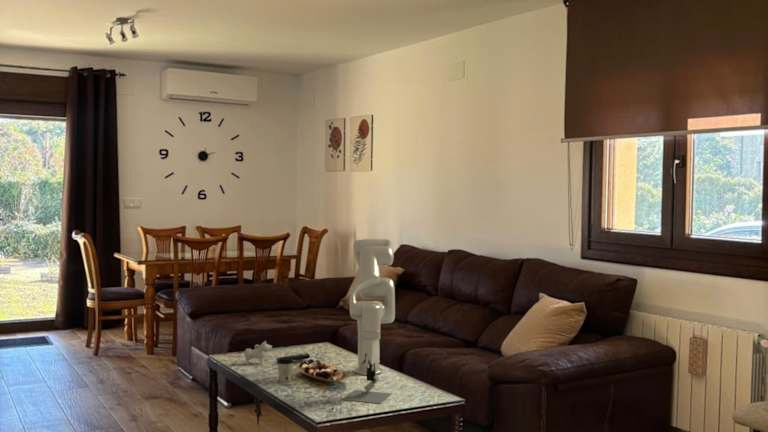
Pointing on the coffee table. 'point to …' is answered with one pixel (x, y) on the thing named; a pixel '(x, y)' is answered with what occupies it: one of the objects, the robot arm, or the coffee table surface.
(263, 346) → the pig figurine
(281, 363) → the coffee cup
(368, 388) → the lighter
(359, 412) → the coffee table surface
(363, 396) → the mat
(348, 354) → the coffee table surface
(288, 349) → the coffee table surface
